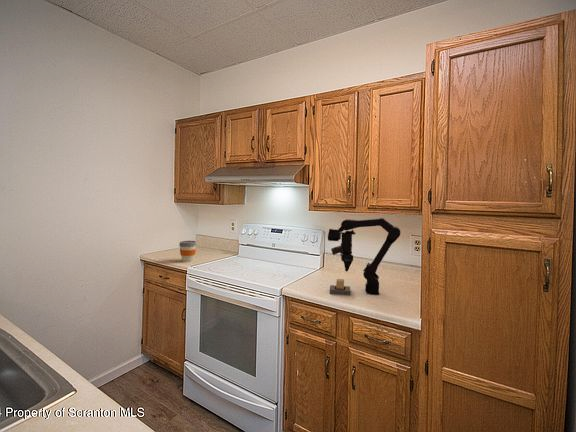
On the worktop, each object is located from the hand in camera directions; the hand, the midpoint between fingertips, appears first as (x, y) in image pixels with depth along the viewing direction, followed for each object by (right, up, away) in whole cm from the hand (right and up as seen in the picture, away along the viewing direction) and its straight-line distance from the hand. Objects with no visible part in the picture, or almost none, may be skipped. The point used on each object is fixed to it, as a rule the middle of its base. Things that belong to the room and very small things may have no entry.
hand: (346, 269), depth 162 cm
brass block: (-4, -12, -5) cm, 13 cm away
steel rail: (-4, -12, -5) cm, 13 cm away
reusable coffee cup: (-112, -5, +65) cm, 129 cm away
